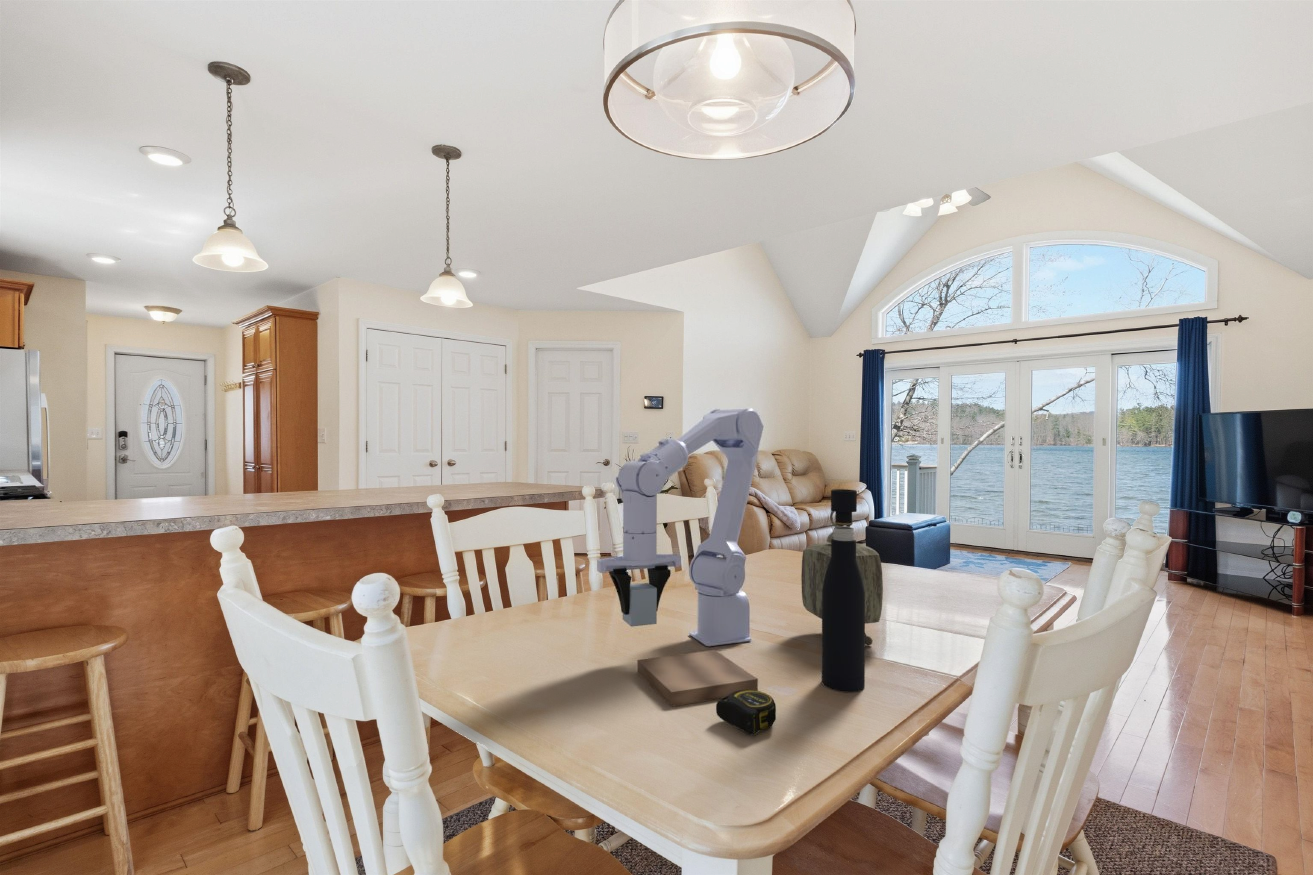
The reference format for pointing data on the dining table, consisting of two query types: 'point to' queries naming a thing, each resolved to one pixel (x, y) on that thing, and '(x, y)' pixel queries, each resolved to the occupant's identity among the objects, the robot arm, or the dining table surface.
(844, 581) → the wine bottle
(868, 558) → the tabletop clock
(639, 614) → the slate block
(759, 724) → the tape measure
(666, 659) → the walnut base
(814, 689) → the dining table surface
